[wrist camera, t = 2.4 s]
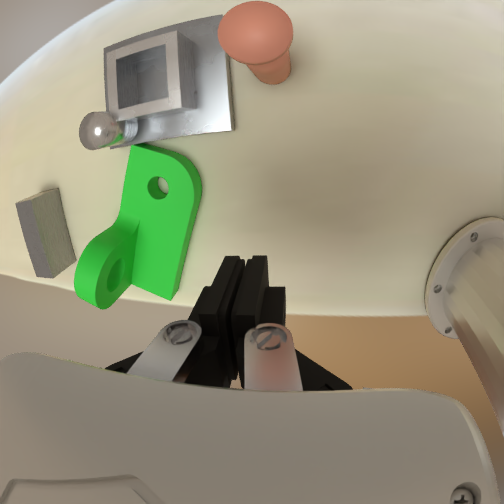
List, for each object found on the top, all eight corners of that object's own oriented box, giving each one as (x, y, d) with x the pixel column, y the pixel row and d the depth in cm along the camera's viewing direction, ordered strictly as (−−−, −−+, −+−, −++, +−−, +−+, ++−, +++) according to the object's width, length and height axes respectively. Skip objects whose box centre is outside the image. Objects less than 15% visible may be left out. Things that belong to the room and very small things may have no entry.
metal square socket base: (226, 19, 16) (205, -7, 11) (234, 130, 19) (214, 131, 15) (111, 50, 18) (72, 41, 13) (118, 147, 21) (78, 156, 16)
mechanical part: (178, 288, 26) (141, 345, 19) (123, 265, 26) (76, 311, 19) (211, 162, 21) (167, 183, 14) (144, 142, 21) (80, 156, 14)
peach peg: (293, 46, 16) (288, -2, 9) (296, 87, 18) (295, 60, 10) (248, 50, 17) (215, 6, 9) (251, 90, 18) (220, 66, 10)
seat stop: (58, 188, 24) (30, 199, 20) (76, 260, 27) (53, 278, 23) (41, 191, 24) (15, 203, 20) (59, 260, 27) (37, 276, 24)
